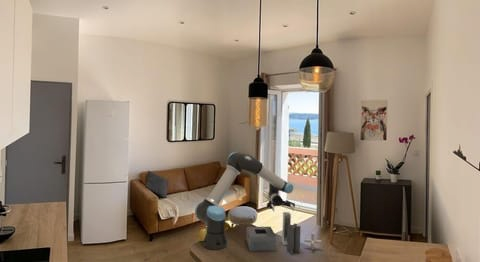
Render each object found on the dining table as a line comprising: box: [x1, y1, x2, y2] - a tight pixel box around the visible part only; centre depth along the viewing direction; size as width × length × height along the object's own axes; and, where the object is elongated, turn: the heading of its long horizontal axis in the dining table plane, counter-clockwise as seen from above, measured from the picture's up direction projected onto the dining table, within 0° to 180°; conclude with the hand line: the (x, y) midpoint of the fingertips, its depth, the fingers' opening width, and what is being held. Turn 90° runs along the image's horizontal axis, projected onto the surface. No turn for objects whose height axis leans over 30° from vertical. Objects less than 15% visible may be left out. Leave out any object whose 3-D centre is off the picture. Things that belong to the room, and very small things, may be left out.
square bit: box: [281, 211, 292, 246], centre depth 191 cm, size 4×4×20 cm
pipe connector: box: [304, 232, 322, 250], centre depth 184 cm, size 10×10×10 cm
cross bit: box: [286, 223, 302, 255], centre depth 181 cm, size 8×8×16 cm
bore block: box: [246, 226, 277, 252], centre depth 188 cm, size 16×16×9 cm
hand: (283, 209), depth 201 cm, fingers open, 13 cm apart
